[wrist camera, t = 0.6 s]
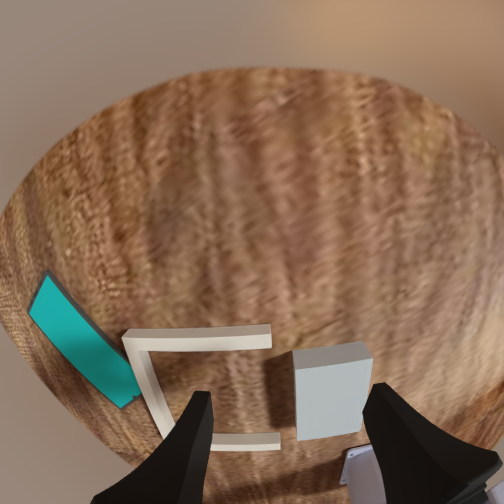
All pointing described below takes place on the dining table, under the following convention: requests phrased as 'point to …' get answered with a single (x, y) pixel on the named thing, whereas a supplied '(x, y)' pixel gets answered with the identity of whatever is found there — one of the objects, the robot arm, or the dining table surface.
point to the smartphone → (83, 342)
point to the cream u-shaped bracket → (195, 340)
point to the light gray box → (330, 389)
